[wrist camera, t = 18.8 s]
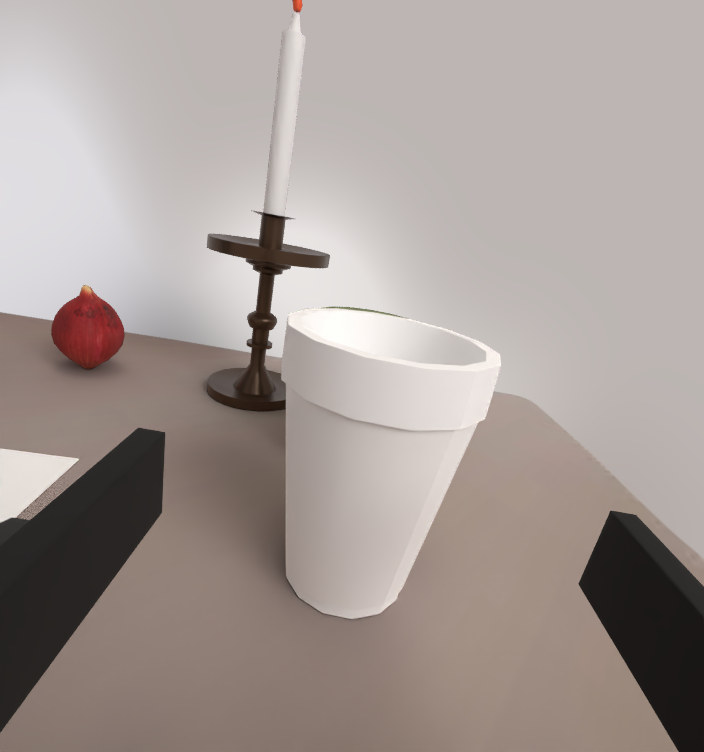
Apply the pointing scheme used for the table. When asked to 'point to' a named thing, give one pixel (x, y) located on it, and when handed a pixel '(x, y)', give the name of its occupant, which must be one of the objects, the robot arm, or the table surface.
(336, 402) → the foam cup
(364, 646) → the table surface
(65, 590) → the robot arm
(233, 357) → the table surface
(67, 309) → the onion
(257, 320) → the candlestick
